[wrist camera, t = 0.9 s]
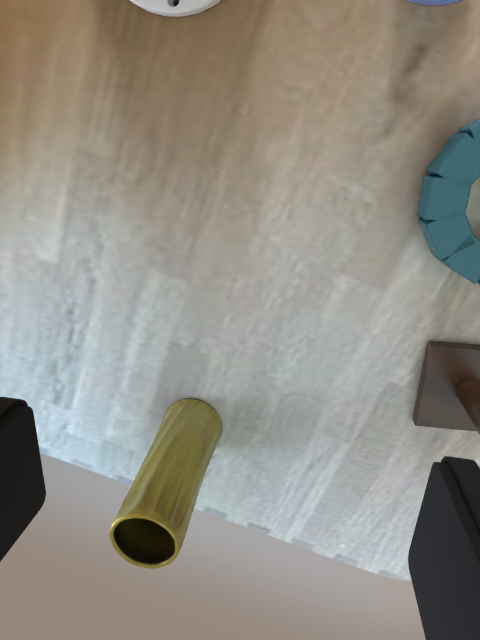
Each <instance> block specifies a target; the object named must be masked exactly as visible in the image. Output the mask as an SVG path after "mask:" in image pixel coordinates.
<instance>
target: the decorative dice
mask: <svg viewBox="0 0 480 640" xmlns="http://www.w3.org/2000/svg"><path fill="white" fill-rule="evenodd" d="M408 1H410V2H413V3H417V4H424V5H443V4H451V3H455V2H459V1H462V0H408Z"/></svg>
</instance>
